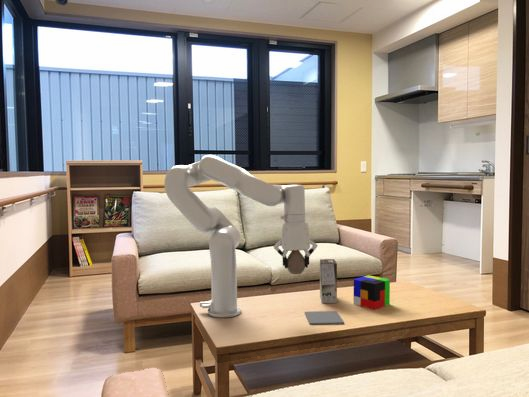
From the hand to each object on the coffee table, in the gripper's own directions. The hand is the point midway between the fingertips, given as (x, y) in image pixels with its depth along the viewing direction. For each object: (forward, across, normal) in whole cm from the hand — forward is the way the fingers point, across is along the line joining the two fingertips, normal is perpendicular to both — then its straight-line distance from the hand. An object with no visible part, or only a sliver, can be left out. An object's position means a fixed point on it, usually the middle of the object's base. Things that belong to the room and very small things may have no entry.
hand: (296, 266), depth 154 cm
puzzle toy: (+19, +31, +11) cm, 38 cm away
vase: (+3, 0, 0) cm, 3 cm away
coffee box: (+19, +15, +18) cm, 30 cm away
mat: (+18, +9, -4) cm, 21 cm away
